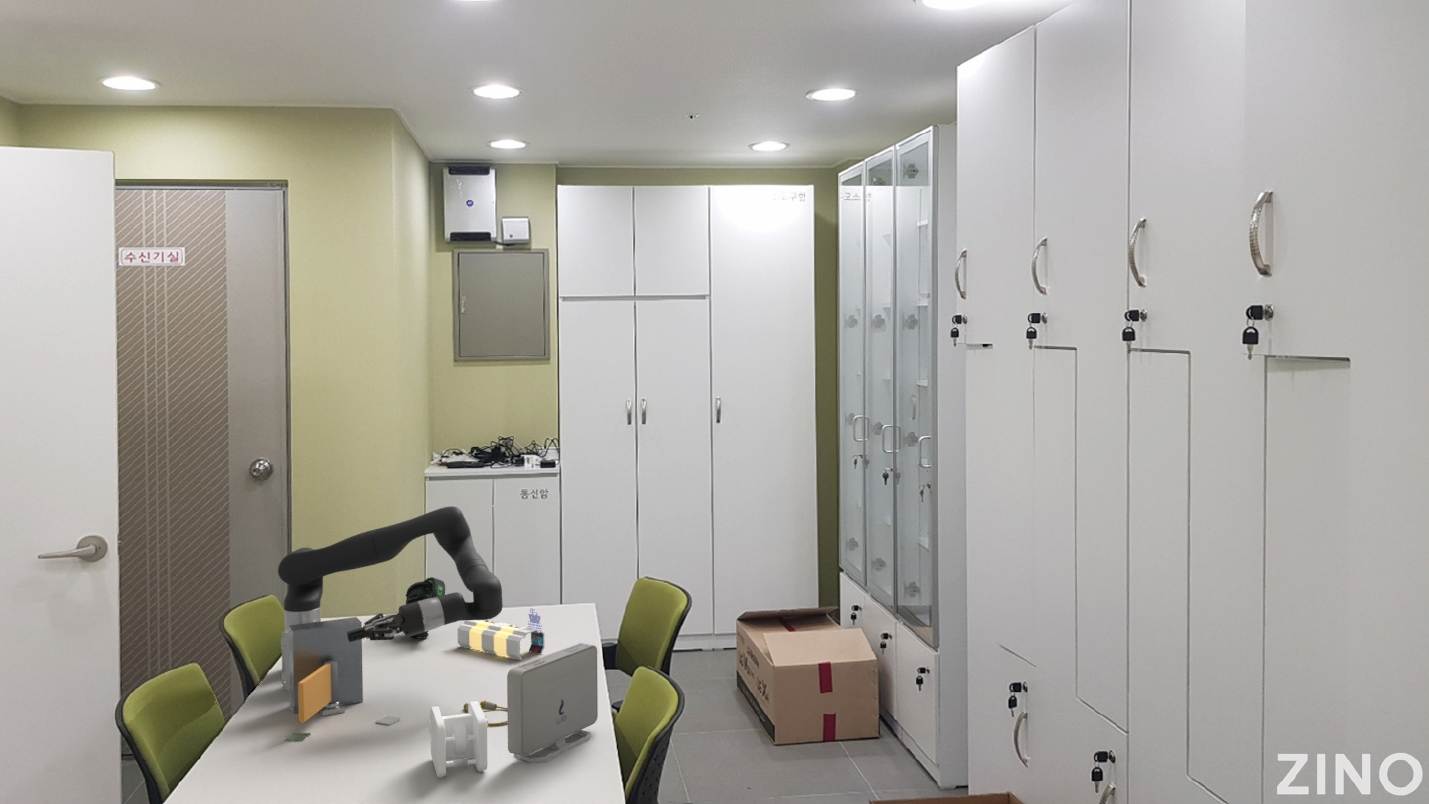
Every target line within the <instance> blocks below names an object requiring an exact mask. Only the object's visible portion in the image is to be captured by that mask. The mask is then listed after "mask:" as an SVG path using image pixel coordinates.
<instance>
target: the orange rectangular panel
mask: <svg viewBox="0 0 1429 804" xmlns="http://www.w3.org/2000/svg"><path fill="white" fill-rule="evenodd" d="M337 701H338V669H337V661H335V660H331V661H326V662H324V666H322V667H321V668H319V669H318V670H316V671H315V672H313V673H312V674H311V675H309V676H308V677H306V678H305V679H303V680H302V681H300V682H299V683H298V702H299V713H298V722H299V723H306V722H307V721H308V720H309V719H310V718H311V717H313V716H314V715H315V714H317V713H318V712H320V711H319V710H320V709H322V708H323V707H324V706H326V705H327V704H328V703H334V702H337Z"/></svg>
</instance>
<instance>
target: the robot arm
mask: <svg viewBox="0 0 1429 804" xmlns="http://www.w3.org/2000/svg"><path fill="white" fill-rule="evenodd" d="M430 534H433V536H434V538H435V539H436V541H437V543H438V545H439V546H440V548H442V549H443V551H445V552H446V553H447V554H448V555H449V557H451V559H452V560H453V562H454V564H455V565H456V566H455V567H456V570H457V573H458V576H459V577H460V579H461V581H462V583H463V584H464V587H465V588H466V589H467V591H469V592H471V593H472V596H473V601H471V602H469V601H467V602H466V601H465V599H464V595H462V594H461V592H457V591H456V592H452V593H447V594H445V595H443V596H439V597H435V598H429V599H424V600H421V601H417V602H413V603H410V604H406V603H405V604H403V605H400V606H399V607H398V612H397V613H395V614H387V615H384V613H377V614H376V615H375V616H373V617H371V618H370V619H368V620H366V621H365V622H363V626H362V628H358V629H354V630H351V631H348V632H347V638H348V640H349V642H352V641H356V640H360V639H362V640H364V639H367V640H368V639H369V641H393V640H394V639H395V637H394V636H395V635H397V634H400V633H403V635H404V636H405V637H409V636H412V635H415V634H419V633H422V632H426V631H428V632H430V631H432V630H436V629H438V628H440V627H443V626H446V625H449V624H453V623H457V622H460V621H464V622H465V620H488V621H489V620H492V619H494V618H495V617H497V616H499V614H501V612H502V610H503V589H502V584H501V581H500V580H499V578H498V576H496V575H495V574H493V573H492V572H491V571H490V569H489V568H488V566H487V564H486V563H485V561H484V559H483V557H482V556H481V555H480V554H479V553H478V552H477V549H476V548H475V546H474V542H473V537H472V533H471V528H470V526H469V524H468V522H467V519H466V517H465V516H464V514H463V512H462V510H461V509H460V508H459V507H457V506H451V505H450V506H444V507H441V508H438V509H435V510H433V511H429V512H427V513H424V514H422V515H418V516H415V517H413V518H411V519H408V520H404V521H400V522H398V523H394V524H390V525H387V526H383V527H379V528H374V529H372V530H367V531H364V532H361V533H358V534H354V535H352V536H350V537H348V538H347V537H346V538H344V539H343V540H339V541H338V542H336V543H332V544H331V545H328V546H325V547H322V548H317V549H314V548H311V547H302V548H298V549H296V550H294V551H291V552H289V553H288V554H286V555H285V556H284V557H283V558H282V559H281V561H280V562H279V565H278V569H277V573H278V576H279V578H280V580H281V581H283V582H284V583H285V584H287V585H288V591H287V593H286V596H285V598H284V600H283V612H284V631H287V630H289V626H290V625H298V624H306V623H313V622H321V621H322V620H321V619H322V618H321V616H322V615H321V614H322V613H321V601H322V596H323V593H324V577H325V576H328V575H332V574H334V573H340V572H345V571H346V572H347V571H350V570H351V571H352V570H356V569H361V568H365V567H370V566H374V565H377V564H382V563H385V562H389V561H391V560H393V559H394V558H395V557H397V556H398V555H399V554H400V553H401V552H402V551H403V550H404V549H405V548H406V547H407V546H408V544H410V543H411V542H412V541H413V540H416V539H418V538H420V537H423V536H424V537H425V536H426V535H430ZM383 616H384V617H383ZM285 645H286V644H283V646H285ZM284 671H285V663H284V649H281V673H282V672H284Z"/></svg>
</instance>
